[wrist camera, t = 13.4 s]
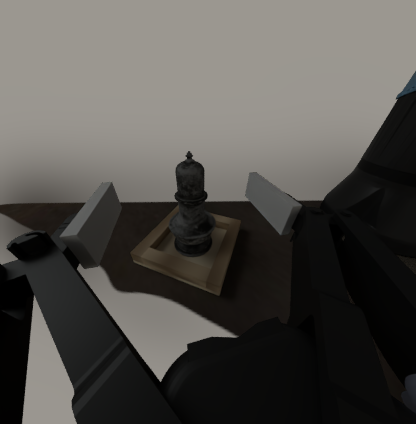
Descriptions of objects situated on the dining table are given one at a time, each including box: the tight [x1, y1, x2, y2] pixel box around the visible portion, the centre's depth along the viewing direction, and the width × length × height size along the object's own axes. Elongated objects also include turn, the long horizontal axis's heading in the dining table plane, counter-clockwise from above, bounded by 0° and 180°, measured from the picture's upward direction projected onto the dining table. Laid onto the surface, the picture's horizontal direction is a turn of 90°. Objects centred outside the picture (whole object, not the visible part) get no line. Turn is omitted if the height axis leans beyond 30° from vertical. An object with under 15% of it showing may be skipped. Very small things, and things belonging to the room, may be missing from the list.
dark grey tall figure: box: [169, 151, 216, 257], centre depth 17 cm, size 6×6×12 cm
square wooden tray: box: [130, 206, 241, 296], centre depth 20 cm, size 11×11×2 cm
